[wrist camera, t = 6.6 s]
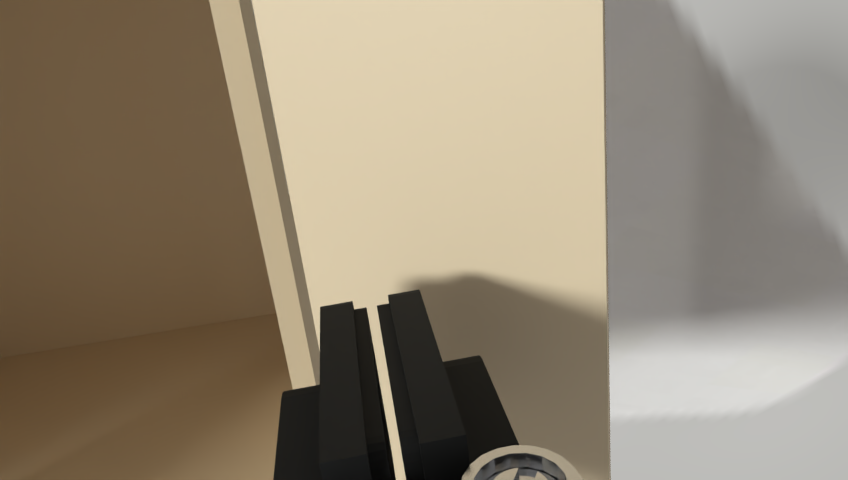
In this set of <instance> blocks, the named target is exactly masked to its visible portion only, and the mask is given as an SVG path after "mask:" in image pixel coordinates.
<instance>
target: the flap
mask: <svg viewBox="0 0 848 480" xmlns="http://www.w3.org/2000/svg"><path fill="white" fill-rule="evenodd" d="M252 5H253V10H254V15H255V20H256V25H257V30H258V36H259V41H260V46H261V51H262V56H263V61H264V67H265V72H266V77H267V82H268V87H269V92H270V97H271V103H272V108H273V113H274V118H275V123H276V128H277V134H278V139H279V144H280V149H281V154H282V159H283V165H284V170H285V175H286V180H287V185H288V190H289V196H290V201H291V206H292V211H293V216H294V221H295V227H296V232H297V237H298V242H299V247H300V252H301V258H302V263H303V268H304V273H305V278H306V283H307V289H308V294H309V299H310V304H311V309H312V314H313V320H314V325H315V330H316V335H317V340H318V345H319V351H320V307H322V306H327V305H333V304H339V303H344V302H350V301H353V305H354V309H360V308H365V307H366V308H367V313H368V319H369V324H370V330H371V336H372V341H373V347H374V353H375V359H376V364H377V370H378V376H379V381H380V387H381V393H382V399H383V404H384V410H385V416H386V421H387V427H388V433H389V439H390V445H391V451H392V457H393V463H394V470H395V477H396V480H406V476H405V470H404V464H403V459H402V453H401V447H400V441H399V435H398V429H397V423H396V417H395V411H394V405H393V399H392V393H391V387H390V381H389V376H388V370H387V364H386V358H385V352H384V346H383V340H382V334H381V328H380V322H379V316H378V310H377V305H382V304H388V303H389V301H388V295H390V294H396V293H401V292H407V291H413V290H420V292H421V296H422V299H423V302H424V305H425V308H426V311H427V314H428V317H429V321H430V324H431V327H432V330H433V333H434V336H435V339H436V342H437V345H438V349H439V352H440V355H441V358H442V361H443V362H444V361H450V360H455V359H461V358H466V357H471V356H477V355H479V356H481V358H482V360H483V362H484V364H485V366H486V369H487V371H488V373H489V376H490V378H491V380H492V383H493V385H494V387H495V390H496V392H497V394H498V397H499V399H500V401H501V404H502V406H503V408H504V411H505V413H506V415H507V418H508V420H509V422H510V425H511V427H512V429H513V432H514V434H515V436H516V439H517V441H518V443H519V445H531V446H536V447H540V448H544V449H548V450H550V451H552V452H554V453H556V454H558V455H560V456H562V457H564V458H565V459H566V460H567V461H568V462H569V463H570V464H571V465H572V466H573V467H574V468H575V469H576V470H577V471H578V473H579V474H580V475H581V477H582V478H583V479H584V480H611V479H610V478H611V476H610V393H609V314H608V234H607V155H606V75H605V0H252Z"/></svg>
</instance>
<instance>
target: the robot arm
mask: <svg viewBox="0 0 848 480" xmlns="http://www.w3.org/2000/svg"><path fill="white" fill-rule="evenodd" d="M388 301H389V303H388V304H382V305H377V310H378V316H379V322H380V328H381V334H382V340H383V346H384V352H385V358H386V364H387V370H388V376H389V381H390V387H391V393H392V399H393V405H394V411H395V417H396V423H397V429H398V435H399V441H400V447H401V453H402V459H403V464H404V470H405V476H406V480H584V479H583V478H582V477H581V475H580V474H579V473H578V471H577V470H576V469H575V468H574V467H573V466H572V465H571V464H570V463H569V462H568V461H567V460H566V459H565V458H564V457H562V456H560V455H558V454H556V453H554V452H552V451H550V450H548V449H544V448H540V447H536V446H531V445H519V443H518V441H517V439H516V436H515V434H514V432H513V429H512V427H511V425H510V422H509V420H508V418H507V415H506V413H505V411H504V408H503V406H502V404H501V401H500V399H499V397H498V394H497V392H496V390H495V387H494V385H493V383H492V380H491V378H490V376H489V373H488V371H487V369H486V366H485V364H484V362H483V360H482V358H481V356H479V355H477V356H471V357H466V358H461V359H455V360H450V361H444V362H443V361H442V358H441V355H440V352H439V349H438V345H437V342H436V339H435V336H434V333H433V330H432V327H431V324H430V321H429V317H428V314H427V311H426V308H425V305H424V302H423V299H422V296H421V292H420V290H413V291H407V292H401V293H396V294H390V295H388ZM273 480H396V477H395V470H394V463H393V457H392V451H391V445H390V439H389V433H388V427H387V421H386V416H385V410H384V404H383V399H382V393H381V387H380V381H379V376H378V370H377V364H376V359H375V353H374V347H373V341H372V336H371V330H370V324H369V319H368V313H367V308H366V307H365V308H360V309H354V305H353V301H350V302H344V303H339V304H333V305H327V306H322V307H320V385H315V386H309V387H304V388H299V389H293V390H288V391H284V392H283V393H282V397H281V406H280V416H279V426H278V436H277V446H276V457H275V467H274V477H273Z"/></svg>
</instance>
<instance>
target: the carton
mask: <svg viewBox="0 0 848 480" xmlns="http://www.w3.org/2000/svg"><path fill="white" fill-rule="evenodd" d="M315 385H320V351H319V345H318V340H317V335H316V330H315V325H314V320H313V314H312V309H311V304H310V299H309V294H308V289H307V283H306V278H305V273H304V268H303V263H302V258H301V252H300V247H299V242H298V237H297V232H296V227H295V221H294V216H293V211H292V206H291V201H290V196H289V190H288V185H287V180H286V175H285V170H284V165H283V159H282V154H281V149H280V144H279V139H278V134H277V128H276V123H275V118H274V113H273V108H272V103H271V97H270V92H269V87H268V82H267V77H266V72H265V67H264V61H263V56H262V51H261V46H260V41H259V36H258V30H257V25H256V20H255V15H254V10H253V5H252V0H0V480H273V477H274V467H275V457H276V446H277V436H278V426H279V416H280V406H281V397H282V393H283V392H284V391H288V390H293V389H299V388H304V387H309V386H315Z"/></svg>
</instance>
